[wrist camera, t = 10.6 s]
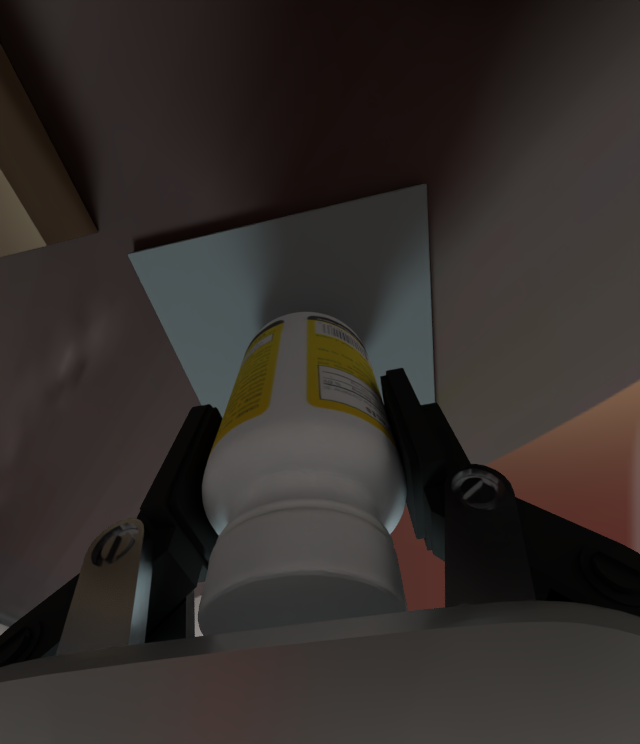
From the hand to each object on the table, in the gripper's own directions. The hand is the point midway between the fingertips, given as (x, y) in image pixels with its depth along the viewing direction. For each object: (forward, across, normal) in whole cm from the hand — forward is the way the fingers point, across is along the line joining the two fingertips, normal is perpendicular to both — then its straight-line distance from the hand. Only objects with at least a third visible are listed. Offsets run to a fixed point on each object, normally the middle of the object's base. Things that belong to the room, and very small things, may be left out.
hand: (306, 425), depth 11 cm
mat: (+6, 0, 0) cm, 6 cm away
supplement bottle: (+4, 0, 0) cm, 4 cm away
